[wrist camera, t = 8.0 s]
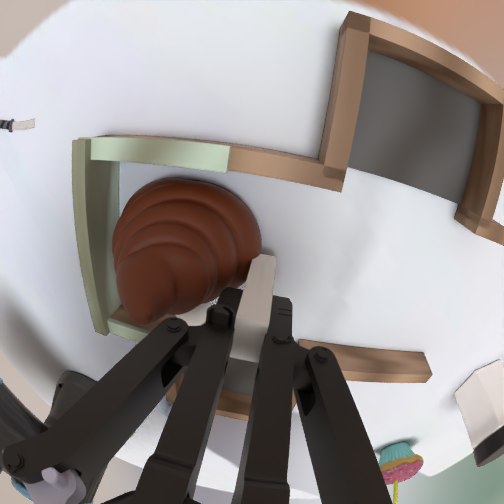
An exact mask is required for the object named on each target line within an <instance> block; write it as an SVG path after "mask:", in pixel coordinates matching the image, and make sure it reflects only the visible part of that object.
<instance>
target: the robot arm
mask: <svg viewBox="0 0 504 504" xmlns="http://www.w3.org/2000/svg"><path fill="white" fill-rule="evenodd" d="M276 262H277V257H275V256H270V255H265V254H260V255H259V256H258V257H256V258H254V259H252V263H251V266H250V270H249V273H248V277H247V280H246V284H245V287H244V290H241V289H236V288H232V287H226V288H225V289H224V290H222V292H221V294H220V296H219V299H218V302H217V304H215V305H212V306H210V307H209V308H208V309H207V312H206V323H205V324H203V325H200V326H188V324H187V323H186V321H184V320H183V319H181V318H177V317H170V318H166V319H165V320H163V321H162V322H161V323H160V324H158V325H157V326H156V327H155V328H154V329H153V330H152V331H151V332H150V333H149V334H148V335H147V336H146V337H145V338H144V339H142V340H141V341H140V342H139V343H138V344H137V345H136V346H135V347H134V348H133V349H132V350H131V351H130V352H129V353H128V354H126V355H125V356H124V357H123V358H122V359H121V360H120V361H119V362H118V363H117V364H116V365H115V366H114V367H113V368H112V369H111V370H110V371H109V372H107V373H106V374H105V375H104V376H103V377H102V378H101V379H100V380H99V381H98V382H97V383H96V382H95V381H93V380H91V379H89V378H87V377H85V376H83V375H81V374H78V373H75V372H71V371H67V372H65V373H64V374H63V375H62V376H61V378H60V379H59V381H58V383H57V386H56V390H55V394H54V398H53V402H52V407H51V411H50V414H49V415H48V417H47V419H46V420H45V422H44V423H42V422H41V421H40V420H39V419H38V418H37V417H36V416H35V415H33V413H32V412H31V411H30V410H28V409H27V408H26V407H25V406H24V405H23V404H22V402H21V401H20V400H19V399H17V397H16V396H15V395H14V394H13V393H12V392H11V391H10V390H9V389H8V387H7V386H6V385H5V384H4V383H3V380H2V379H1V378H0V473H1V472H2V471H4V472H6V473H7V474H9V475H10V476H11V480H12V485H13V486H14V487H15V488H16V490H18V491H19V492H20V493H21V494H22V495H24V496H25V497H26V498H28V499H30V500H32V501H33V502H34V504H93V498H94V496H95V493H96V491H97V489H98V486H99V484H100V482H101V479H102V477H103V475H104V472H105V470H106V468H107V465H108V463H109V461H110V460H111V459H112V458H113V457H114V455H115V454H116V453H117V452H118V451H119V449H120V448H121V447H122V446H123V445H124V444H125V442H126V441H127V440H128V439H129V438H130V437H131V436H132V435H133V434H134V433H135V431H136V429H137V428H138V427H139V426H140V425H141V423H142V422H143V421H144V420H145V419H146V417H147V416H148V415H149V414H150V413H151V411H152V410H153V409H154V408H155V406H156V405H157V404H158V403H159V402H160V400H161V399H162V398H163V397H164V395H165V394H166V393H167V392H168V391H169V389H170V388H171V387H172V386H173V384H174V383H175V382H176V381H177V379H178V378H179V377H180V376H181V375H182V373H183V372H184V371H185V370H186V368H187V366H188V368H187V371H186V373H185V376H184V378H183V381H182V383H181V386H180V388H179V391H178V393H177V396H176V398H175V401H174V403H173V406H172V409H171V411H170V414H169V416H168V419H167V421H166V424H165V426H164V429H163V432H162V434H161V437H160V439H159V442H158V445H157V447H156V450H155V452H154V454H153V455H151V456H150V457H149V458H148V460H147V462H146V464H145V466H144V469H143V472H142V474H141V477H140V479H139V482H138V485H137V487H136V490H135V491H130V492H127V493H124V494H122V495H120V496H118V497H115V498H113V499H111V500H109V501H106V502H104V503H101V504H201V503H199V502H196V501H194V500H193V496H194V492H195V487H196V482H197V478H198V475H199V471H200V467H201V464H202V460H203V456H204V453H205V449H206V445H207V442H208V437H209V434H210V430H211V427H212V423H213V419H214V416H215V412H216V408H217V404H218V401H219V397H220V393H221V389H222V386H223V382H224V378H225V374H226V371H227V367H228V362H229V357H232V358H236V359H241V360H246V361H251V362H256V363H259V364H258V368H257V371H256V375H255V378H254V380H255V383H254V389H253V395H252V401H251V407H250V412H249V418H248V424H247V429H246V435H245V440H244V446H243V451H242V457H241V461H240V467H239V472H238V477H237V482H236V487H235V491H234V495H233V498H232V502H231V504H289V497H290V487H289V485H288V483H287V470H288V458H289V445H290V430H291V414H292V394H293V391H294V395H295V399H296V402H297V406H298V410H299V414H300V418H301V422H302V426H303V430H304V433H305V438H306V442H307V446H308V450H309V454H310V458H311V462H312V465H313V470H314V474H315V478H316V482H317V485H318V490H319V493H320V498H321V502H322V504H393V503H392V501H391V498H390V495H389V492H388V490H387V486H386V484H385V481H384V478H383V475H382V472H381V470H380V467H379V464H378V461H377V459H376V456H375V453H374V451H373V448H372V445H371V443H370V440H369V438H368V435H367V432H366V430H365V427H364V425H363V422H362V420H361V417H360V415H359V412H358V410H357V407H356V405H355V402H354V400H353V397H352V395H351V392H350V390H349V387H348V385H347V383H346V380H345V378H344V375H343V373H342V371H341V368H340V366H339V364H338V361H337V359H336V357H335V355H334V353H333V352H332V351H331V350H330V349H328V348H326V347H323V346H315V347H312V348H311V349H310V350H309V349H306V348H304V347H302V346H300V345H298V344H297V343H296V342H295V341H294V338H293V337H292V303H291V301H290V299H289V298H284V297H279V296H274V295H273V288H274V279H275V271H276Z"/></svg>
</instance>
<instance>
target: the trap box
mask: <svg viewBox="0 0 504 504" xmlns="http://www.w3.org/2000/svg"><path fill="white" fill-rule="evenodd" d="M119 161H123V162H136V163H147V164H158V165H167V166H176V167H185V168H193V169H200V170H208V171H215V172H221V173H227V172H228V170H230V171H236V172H243V173H249V174H254V175H260V176H266V177H271V178H276V179H281V180H287V181H292V182H296V183H301V184H306V185H310V186H315V187H319V188H324V189H328V190H332V191H337V192H341V191H342V187H343V183H344V178H345V174H346V170H347V167H350V168H353V169H357V170H361V171H364V172H368V173H371V174H375V175H378V176H381V177H385V178H388V179H391V180H394V181H397V182H400V183H403V184H406V185H409V186H412V187H415V188H418V189H421V190H424V191H426V192H429V193H432V194H434V195H437V196H440V197H442V198H445V199H447V200H450V201H452V202H455V203H457V204H459V205H458V208H457V211H456V214H455V217H454V219H455V220H456V221H458V222H459V223H461V224H462V225H464V226H465V227H466V228H468V229H469V230H470V231H472V232H473V233H474V234H476V235H479V236H481V237H484V238H486V239H489V240H491V241H494V242H496V243H499V244H501V245H503V246H504V226H502V225H501V224H499V223H498V222H496V221H495V220H493V219H492V218H493V215H494V212H495V209H496V205H497V202H498V198H499V195H500V191H501V187H502V183H503V179H504V89H503V88H502V87H501V86H499V85H498V84H497V83H496V82H494V81H493V80H492V79H490V78H489V77H487V76H486V75H485V74H483V73H482V72H480V71H479V70H477V69H476V68H474V67H473V66H471V65H470V64H468V63H467V62H465V61H463V60H462V59H460V58H459V57H457V56H455V55H453V54H452V53H450V52H448V51H446V50H445V49H443V48H441V47H439V46H437V45H435V44H433V43H431V42H429V41H427V40H425V39H423V38H421V37H419V36H417V35H415V34H413V33H410V32H408V31H406V30H403V29H401V28H398V27H396V26H393V25H391V24H388V23H386V22H383V21H380V20H377V19H374V18H371V17H368V16H365V15H362V14H359V13H355V12H352V11H349V12H348V14H347V16H346V18H345V20H344V22H343V24H342V25H341V27H340V33H339V40H338V47H337V54H336V61H335V68H334V74H333V80H332V86H331V92H330V98H329V104H328V110H327V115H326V120H325V126H324V131H323V136H322V141H321V147H320V151H319V156H318V159H314V158H310V157H305V156H301V155H296V154H291V153H286V152H281V151H275V150H270V149H264V148H258V147H252V146H245V145H238V144H231V143H224V142H216V141H207V140H197V139H187V138H175V137H160V136H139V135H104V136H97V137H81V138H78V140H73V141H72V192H73V208H74V220H75V230H76V238H77V246H78V253H79V259H80V266H81V271H82V277H83V282H84V287H85V292H86V296H87V301H88V305H89V309H90V313H91V317H92V321H93V325H94V328H95V332H97V333H100V334H102V335H105V336H107V335H108V333H109V332H110V333H113V334H115V335H118V336H121V337H124V338H126V339H129V340H132V341H135V342H138V343H139V342H140V341H141V340H142V339H144V338H145V337H146V336H147V335H148V334H149V333H150V332H151V331H152V330H153V329H154V328H155V327H156V326H157V325H158V324H160V323H161V322H162V321H163V320H165V319H166V318H170V317H176V315H165V316H164V317H162V318H160V319H159V320H157V321H155V322H153V323H151V324H149V325H146V326H141V325H138V324H137V323H135V322H134V321H133V320H132V319H131V318H130V317H129V315H128V314H127V312H126V311H125V309H124V307H123V305H122V302H121V300H120V297H119V294H118V290H117V284H116V273H115V269H114V258H113V254H112V237H113V233H114V229H115V227H116V224H117V222H118V220H119ZM298 345H300V346H302V347H304V348H306V349H309V350H310V349H311V348H312V347H315V346H323V347H326V348H328V349H330V350H331V351H332V352H333V353H334V355H335V357H336V359H337V361H338V364H339V366H340V368H341V371H342V373H343V375H344V378H345V380H348V381H363V382H384V383H426V382H427V381H428V380H429V378H430V377H431V376H432V375H433V374H432V372H431V369H430V367H429V364H428V362H427V360H426V357H425V355H424V353H423V352H407V351H393V350H381V349H371V348H361V347H353V346H344V345H336V344H329V343H322V342H315V341H308V340H302V339H300V340H299V343H298ZM258 364H259V363H256V362H251V361H246V360H241V359H236V358H232V357H229V362H228V367H227V371H226V374H225V378H224V382H223V386H222V389H221V393H220V397H219V401H218V404H217V408H216V412H215V414H216V415H220V416H225V417H229V418H234V419H240V420H245V421H248V418H249V412H250V407H251V401H252V395H253V389H254V383H255V380H254V378H255V375H256V371H257V368H258ZM187 368H188V366H187ZM187 368H186V370H185V371H184V372H183V373H182V375H181V376H180V377H179V378H178V379H177V381H176V382H175V383H174V384H173V386H172V387H171V388H170V389H169V391H168V392H167V393H166V400H167V401H168V402H171V403H174V401H175V398H176V396H177V393H178V391H179V388H180V386H181V383H182V381H183V378H184V376H185V373H186V371H187ZM296 403H297V402H296V399H295V395H294V391H293V394H292V410H293V408H294V407H295V405H296Z"/></svg>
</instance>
